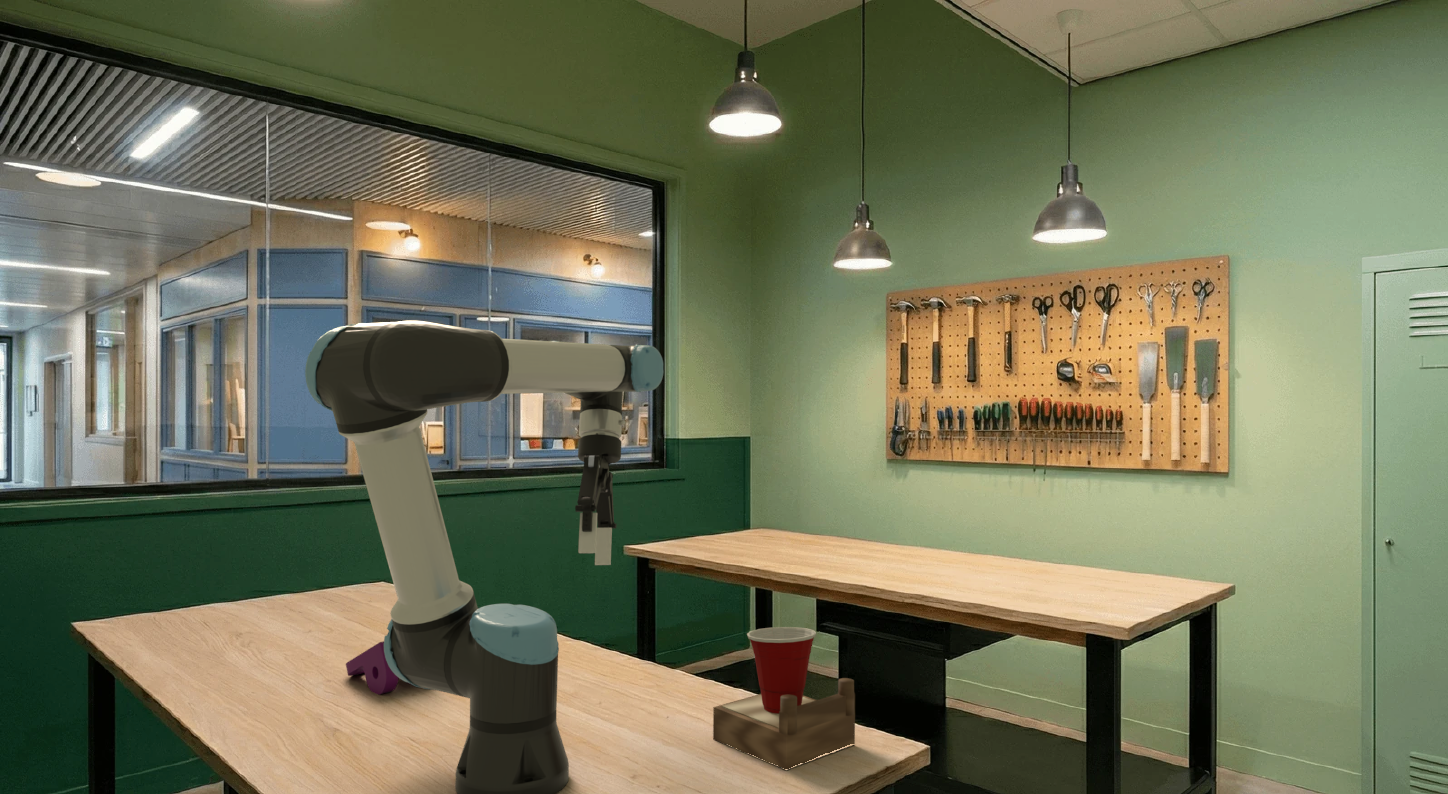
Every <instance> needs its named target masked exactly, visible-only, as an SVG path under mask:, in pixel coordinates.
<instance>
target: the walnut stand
mask: <svg viewBox="0 0 1448 794" xmlns="http://www.w3.org/2000/svg"><path fill="white" fill-rule="evenodd" d="M837 681H838V684H837V685H838V686H837V687H838V688H837V690H838V692H837V693H835V694H833V695H829V696H827V697H823V698H820V699H816V698H815V699H814V698H811V697H809V696H806V695H803V698H802V704H801V705H799V706H797V696H795V695H782V696H781V698H780V711H779V714H777V713H771V712H768V711H766V710H765V709H764V706H763V703H762V696H761V693H759V694H756V695H752V696H748V697H745V698H741V699H738V700H735V701H730V702H728V703H723V704H720V705H716V706H714V707H713V708H712V709H713V711H712V712H713V720H712V721H713V723H712V725H713V729H712V730H713V731H712V734H713V736H712V738H713V740H714V739H715V740H714V741H716V742H719V743H721V744H723V743H724V744H723V745H725V744H728V745H730V746H732V747H734V748H733V749H735V748H737V749H738V750H737V749H736V750H737V751H739V750H741V751H740V752H741V753H744V752H745V753H744V754H746V753H749V754H751V755H754V756H756V757H758V758H760V759H763V760H765V761H767V762H770V763H773V764H775V765H778V766H779V767H782V768H784V769H789V768H791V767H793V766H795V765H798V764H800V763H805V762H807V761H809V760H812V759H814V758H816V757H818V756H820V755H823V754H825V753H830V752H832V751H834V750H837V749H840V748H842V747H845V746H847V745H850V744H855V743H856V742H855V741H856V735H855V734H856V732H855V731H856V692H855V680H854V679H852V678H848V677H842V678H838V680H837ZM728 745H727V746H728ZM855 745H856V744H855ZM730 746H729V747H730ZM732 747H731V748H732ZM749 754H748V755H749ZM751 755H750V756H751ZM756 757H755V758H756ZM758 758H757V759H758ZM760 759H759V760H760ZM763 760H762V761H763ZM765 761H764V762H765ZM767 762H766V763H767ZM770 763H769V764H770ZM779 767H778V768H779ZM784 769H783V770H784ZM789 770H790V769H789Z"/></svg>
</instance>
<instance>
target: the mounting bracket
mask: <svg viewBox="0 0 1448 794" xmlns="http://www.w3.org/2000/svg"><path fill="white" fill-rule="evenodd" d="M345 669H346V672H347V676H350V677H352V676H353V677H354V676H358V675H362V674H364V677H365V682H366V684H367V686H368V689H369V691H370V692H371V693H374V694H376V695H379V696H380V695H384V694H387V693H392V692H393V691H394V690H395V689H396V688H397V686H398V683H399V677H397V676H396V675H395V674H394V673H393V672H392V670H391V669H390V667H389V665H388V663H387V661H386V658H385V653H384V640H383V641H379V642H378V643H375V644H374V645H373V646H371V647H370V648H368V649H367V650H365V651H364V652H361V654H358V655H357V656H355V657H353V658H352V659H350V660H349V661H347V662H346V663H345ZM406 683H407V684H409V685H411V686H414V685H412V684H410V683H408V682H406ZM414 687H415V686H414Z"/></svg>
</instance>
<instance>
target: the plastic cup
mask: <svg viewBox="0 0 1448 794" xmlns="http://www.w3.org/2000/svg"><path fill="white" fill-rule="evenodd" d="M746 635H747V638H748V640H749V641H750V644H751V647H752V651H753V655H754V661H755V666H756V674H757V678H758V685H759V689H760V694H761V696H762V703H763V706H764V709H765V710H766V711H768V712H771V713H777V714H779V711H780V698H781V696H782V695H795V696H797V706H799V705H801V704H802V698H803V696H804V690H805V687H806V681H807V676H808V670H809V664H810V656H811V652H812V647H813V643H814V639H815V637H816V636H817V632H816V630H814V629H811V628H806V627H795V626H777V627H776V626H775V627H765V628H758V629H753V630H750V631H749V632H747V633H746Z"/></svg>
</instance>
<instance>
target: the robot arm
mask: <svg viewBox="0 0 1448 794" xmlns="http://www.w3.org/2000/svg"><path fill="white" fill-rule="evenodd" d="M304 371H305V372H304V375H305V382H306V387H307V389H308V392H309V394H310V395H311V397H312V398H313V400H314V401H315V402H316V403H317V404H318V405H321V406H322V407H323V408H324V409H327V410H329V411H331V412H332V413H333V416H334V420H335V424H336V427H337V431H338V434H339V435H340V436H342V437H344V438H345V439H348V440H349V441H352V442H353V443H354V447H355V450H356V454H357V457H358V461H359V464H360V467H361V471H362V475H363V479H364V483H365V486H366V489H367V493H368V497H369V500H370V503H371V506H372V512H373V514H374V518H375V522H376V525H377V528H378V533H379V536H380V539H381V542H382V546H383V550H384V554H385V558H386V561H387V565H388V569H389V571H390V577H391V580H392V582H393V583H392V584H393V586H394V590H395V593H396V597H397V600H396V602H395V603H394V605H393V606H392V607H391V610H390V618H391V619H390V621H389V622H388V624H387V628H386V629H387V630H388V632H387V634H386V635H384V637H383V638H384V639H383V641H384V653H385V658H386V661H387V663H388V665H389V667H390V669H391V670H392V672H393V673H394V674H395V675H396V676H397V677H398V679H400V680H402V681H403V682H405V683H407V682H408V683H410V684H409V685H411V684H412V685H411V686H413V685H414V687H416V688H422V689H424V690H433V691H437V692H441V693H442V692H443V693H446V694H451V695H455V696H459V697H462V698H466V699H469V730H468V733H467V736H466V738H465V743H464V745H463V747H462V748H463V749H462V752H461V754H460V757H459V759H458V763H457V766H456V769H455V786H454V787H455V788H454V789H455V791H456V793H457V794H556V793H558V792H560V791H561V790H562V789H564V787H566V785H567V784H568V782H569V777H570V776H569V774H570V773H569V772H570V771H569V770H570V769H569V767H570V766H569V758H568V755H567V752H566V749H565V746H564V743H563V740H562V737H561V733H560V731H559V726H558V723H557V708H558V707H557V706H558V705H557V703H558V675H559V674H558V672H559V671H558V669H559V668H558V667H559V665H558V664H559V651H560V650H559V649H560V648H559V641H558V628H557V623H556V621H555V619H554V618H553V616H552V615H550V613H548V612H547V611H544V610H542V609H540V608H537V607H535V606H530V605H525V604H512V603H495V604H488V605H484V606H481V607H479V608H478V603H477V600H476V596H475V592H474V589H473V587H472V586H471V585H470V584H468V583H466V582H464V581H461V580H460V579H459V574H458V571H457V567H456V564H455V559H454V556H453V551H452V547H451V544H450V539H449V537H448V536H449V535H448V533H447V528H446V524H445V520H444V517H443V513H442V509H441V505H440V501H439V497H438V494H437V489H436V486H435V480H434V478H433V475H432V470H431V467H430V463H429V459H428V454H427V452H426V450H427V449H426V447H425V443H424V439H423V435H422V432H421V428H420V427H421V423H423V421H424V419H425V417H426V416H427V415H428V410H431V409H438V408H443V407H449V406H455V405H461V404H467V403H482V402H483V403H487V402H491V401H494V400H495V399H497V398H498V397H500V396H501V395H503V394H504V395H510V394H511V395H512V394H514V395H515V394H551V393H552V394H555V393H556V394H557V393H561V394H562V393H564V394H566V395H569V396H571V397H573V398H576V399H578V400H580V406H579V407H580V409H579V423H578V424H579V425H578V436H579V437H580V439H578V445H577V446H578V447H577V448H578V450H577V458H578V459H579V460H580V462H583V469H582V475H581V481H580V487H579V491H578V497H577V501H576V503H577V504H576V505H575V508H574V509H575V511H574V512H576V513H579V529H578V530H579V531H578V547H577V548H578V549H577V550H578V554H594V566H611V565H612V564H611V563H612V561H611V560H612V536H613V535H612V533H613V529H614V530H615V529H617V522H616V523H615V514H614V513H615V512H614V511H615V510H614V493H613V492H614V491H613V490H614V489H613V478H614V475H613V473H612V471H610V469H609V465H611V464H616V463H617V462H619V461H620V460H621V459H622V440H621V439H620V438H621V437H622V431H623V430H622V426H624V425H625V424H626V421H625V419H623V400H624V399H623V397H624V392H625V393H626V392H628V393H629V392H633V393H635V392H636V393H641V392H650V391H654V390H656V389H657V388H658V387H659V385H660V384H661V383H662V380H663V376H664V359H663V357H662V355H661V353H660V351H659V349H657V348H656V347H655V346H653V345H649V344H647V345H646V344H643V345H641V344H635V345H632V344H631V345H620V344H606V343H605V344H604V343H588V342H587V343H586V342H585V343H584V342H570V341H569V342H568V341H558V340H548V341H547V340H532V339H517V338H515V339H514V338H512V339H511V338H502V337H501V336H500V335H498V334H497V333H496V332H495V331H492V330H488V329H475V328H469V327H462V326H456V325H455V326H454V325H449V324H442V323H437V322H432V321H431V322H430V321H423V320H402V321H401V320H400V321H390V322H367V323H365V322H359V323H351V324H348V325H345V326H338V327H336V328H335V327H334V328H333V329H331V330H328V331H327V332H326V333H324V334H323V335H321V336H320V337H319V338H318V339H317V340H316V342H315V343H314V345H313V347H312V349H311V351H310V352H309V353H308V356H307V359H306V363H305V370H304ZM408 683H407V684H408Z"/></svg>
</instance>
